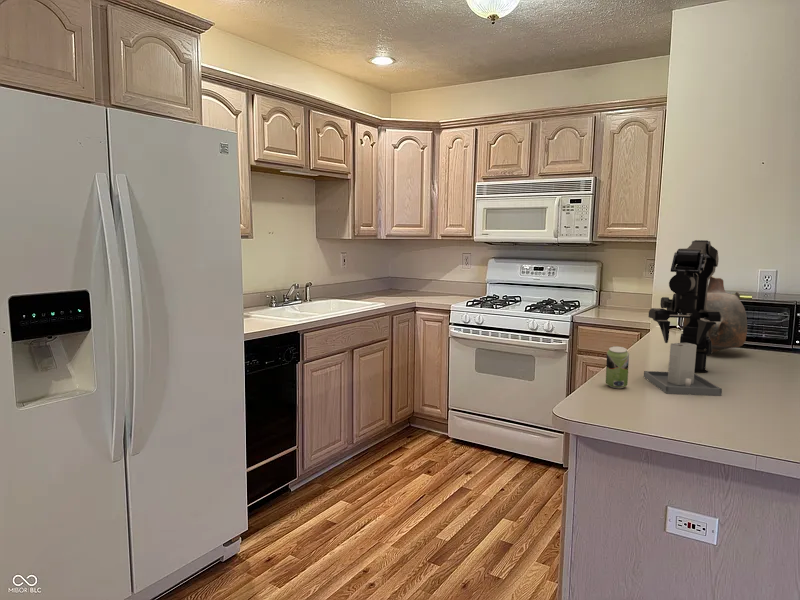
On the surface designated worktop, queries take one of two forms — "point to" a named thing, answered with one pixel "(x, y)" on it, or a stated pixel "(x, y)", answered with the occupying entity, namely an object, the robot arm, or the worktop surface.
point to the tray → (697, 388)
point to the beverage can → (617, 367)
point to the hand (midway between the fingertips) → (682, 343)
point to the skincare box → (681, 363)
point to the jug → (725, 317)
